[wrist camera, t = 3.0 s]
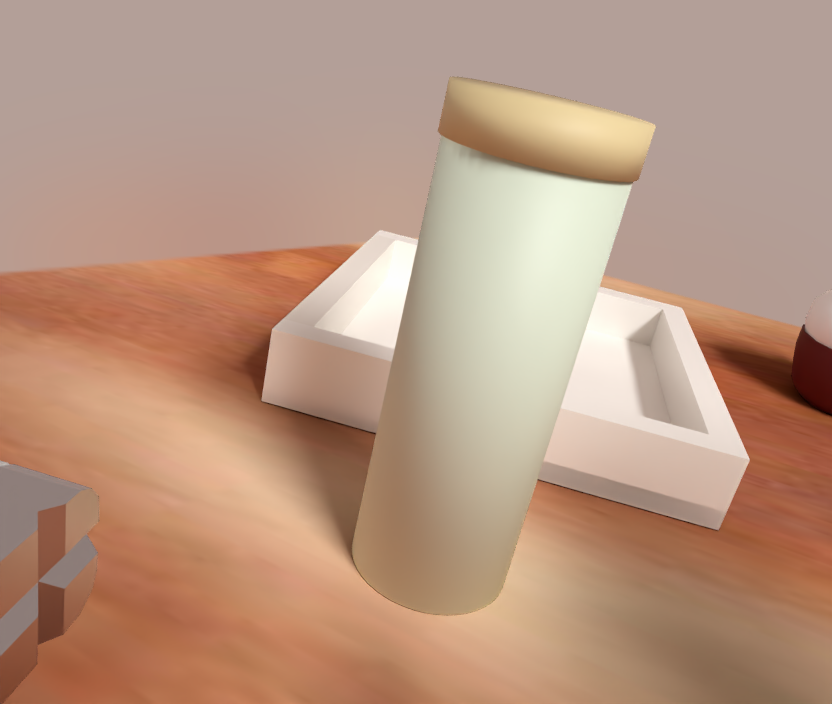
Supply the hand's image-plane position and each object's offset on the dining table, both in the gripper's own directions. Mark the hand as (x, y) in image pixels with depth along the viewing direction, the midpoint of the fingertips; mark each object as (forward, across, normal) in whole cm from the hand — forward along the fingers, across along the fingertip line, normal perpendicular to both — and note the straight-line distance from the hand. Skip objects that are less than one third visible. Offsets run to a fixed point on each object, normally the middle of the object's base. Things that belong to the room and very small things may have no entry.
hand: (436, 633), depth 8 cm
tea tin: (+12, 0, +8) cm, 15 cm away
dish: (+27, -1, +8) cm, 28 cm away
